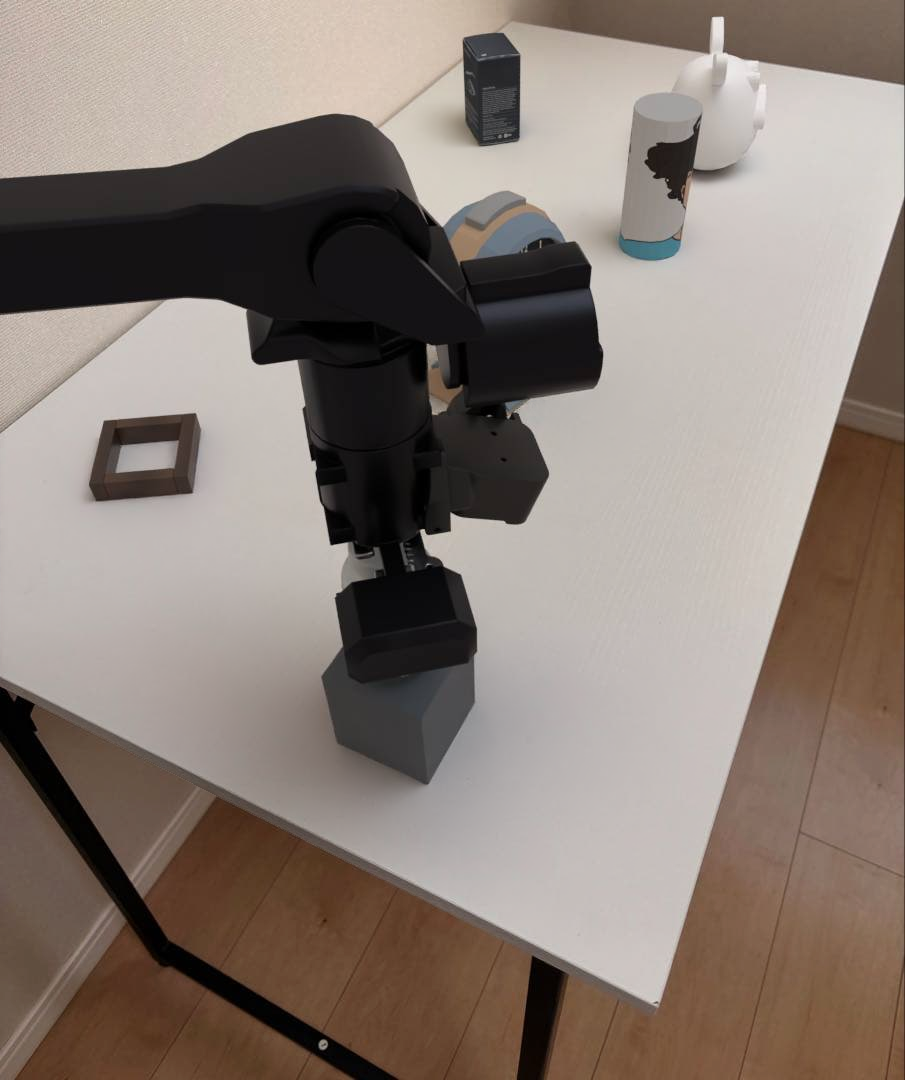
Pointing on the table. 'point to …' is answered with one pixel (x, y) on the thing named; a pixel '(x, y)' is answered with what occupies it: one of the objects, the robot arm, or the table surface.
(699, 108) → the white cylinder
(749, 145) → the piggy bank
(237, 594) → the table surface
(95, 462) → the holder
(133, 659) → the table surface
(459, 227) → the alarm clock
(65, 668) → the table surface
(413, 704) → the block
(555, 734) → the table surface
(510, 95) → the box
